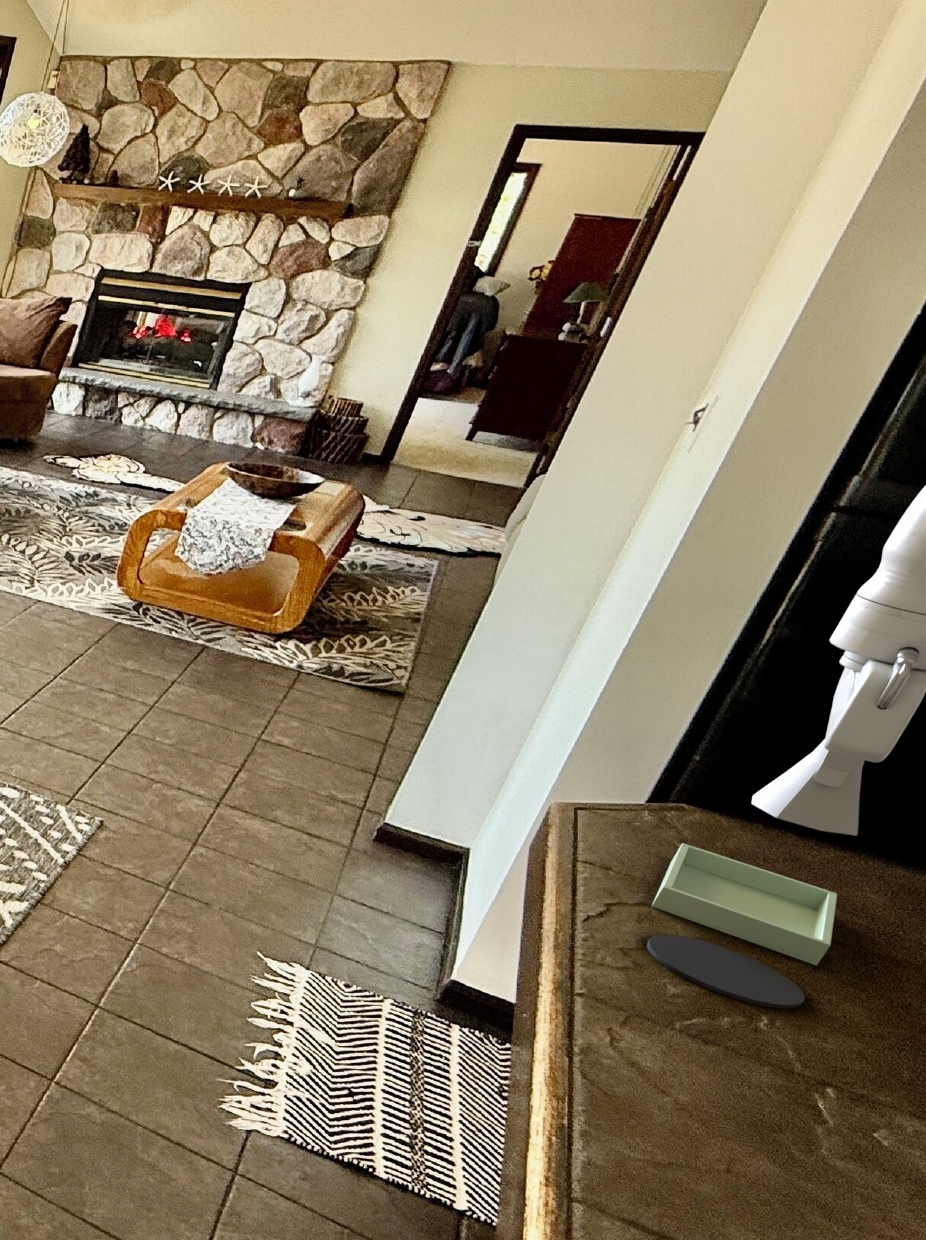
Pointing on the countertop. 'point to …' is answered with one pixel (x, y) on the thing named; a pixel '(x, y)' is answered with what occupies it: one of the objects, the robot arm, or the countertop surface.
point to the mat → (725, 971)
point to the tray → (749, 903)
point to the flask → (813, 797)
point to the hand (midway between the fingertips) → (827, 777)
